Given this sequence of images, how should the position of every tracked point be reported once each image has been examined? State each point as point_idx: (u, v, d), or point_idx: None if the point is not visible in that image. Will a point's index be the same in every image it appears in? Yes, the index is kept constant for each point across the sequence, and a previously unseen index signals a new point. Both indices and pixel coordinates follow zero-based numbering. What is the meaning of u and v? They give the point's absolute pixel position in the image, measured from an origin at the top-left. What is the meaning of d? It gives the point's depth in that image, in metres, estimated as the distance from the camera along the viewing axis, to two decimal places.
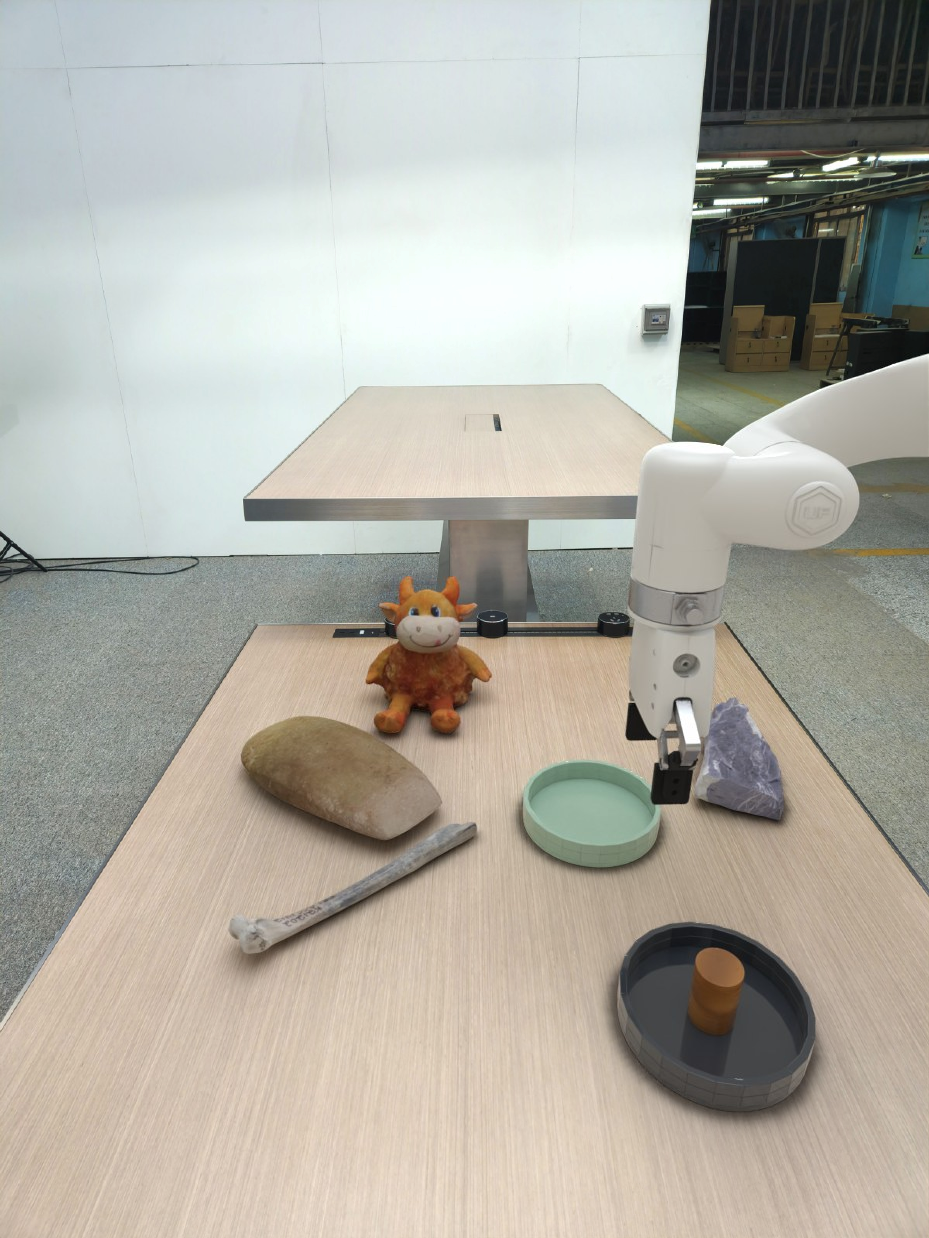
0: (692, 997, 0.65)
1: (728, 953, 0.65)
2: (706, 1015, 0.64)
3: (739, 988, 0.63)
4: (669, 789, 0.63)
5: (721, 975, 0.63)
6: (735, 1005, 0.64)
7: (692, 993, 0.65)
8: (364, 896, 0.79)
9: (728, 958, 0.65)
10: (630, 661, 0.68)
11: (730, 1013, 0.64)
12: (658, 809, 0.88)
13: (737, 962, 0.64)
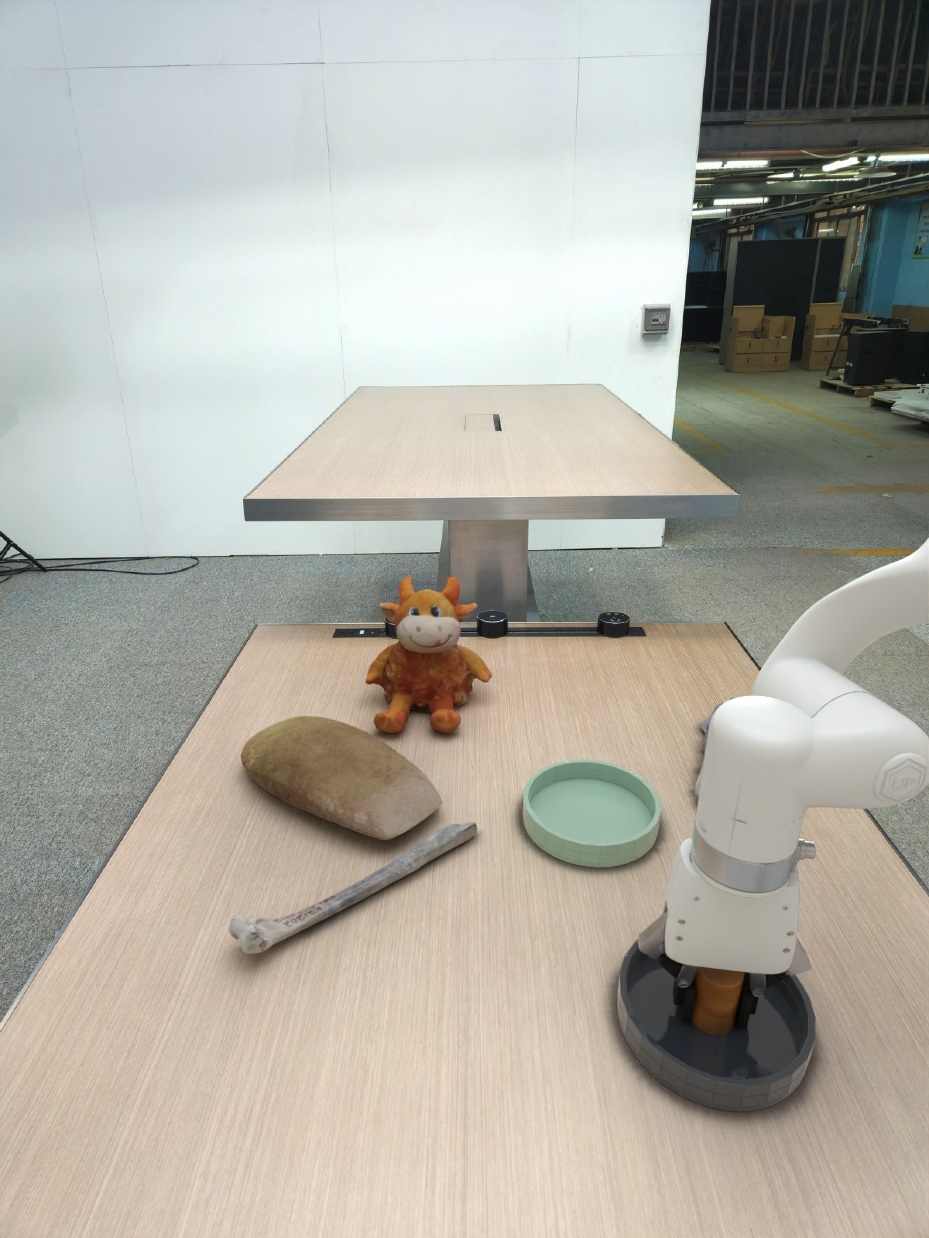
0: None
1: None
2: (706, 1015, 0.64)
3: (739, 988, 0.63)
4: None
5: (721, 975, 0.63)
6: (735, 1005, 0.64)
7: None
8: (364, 896, 0.79)
9: None
10: (686, 939, 0.60)
11: (730, 1013, 0.64)
12: (658, 809, 0.88)
13: None
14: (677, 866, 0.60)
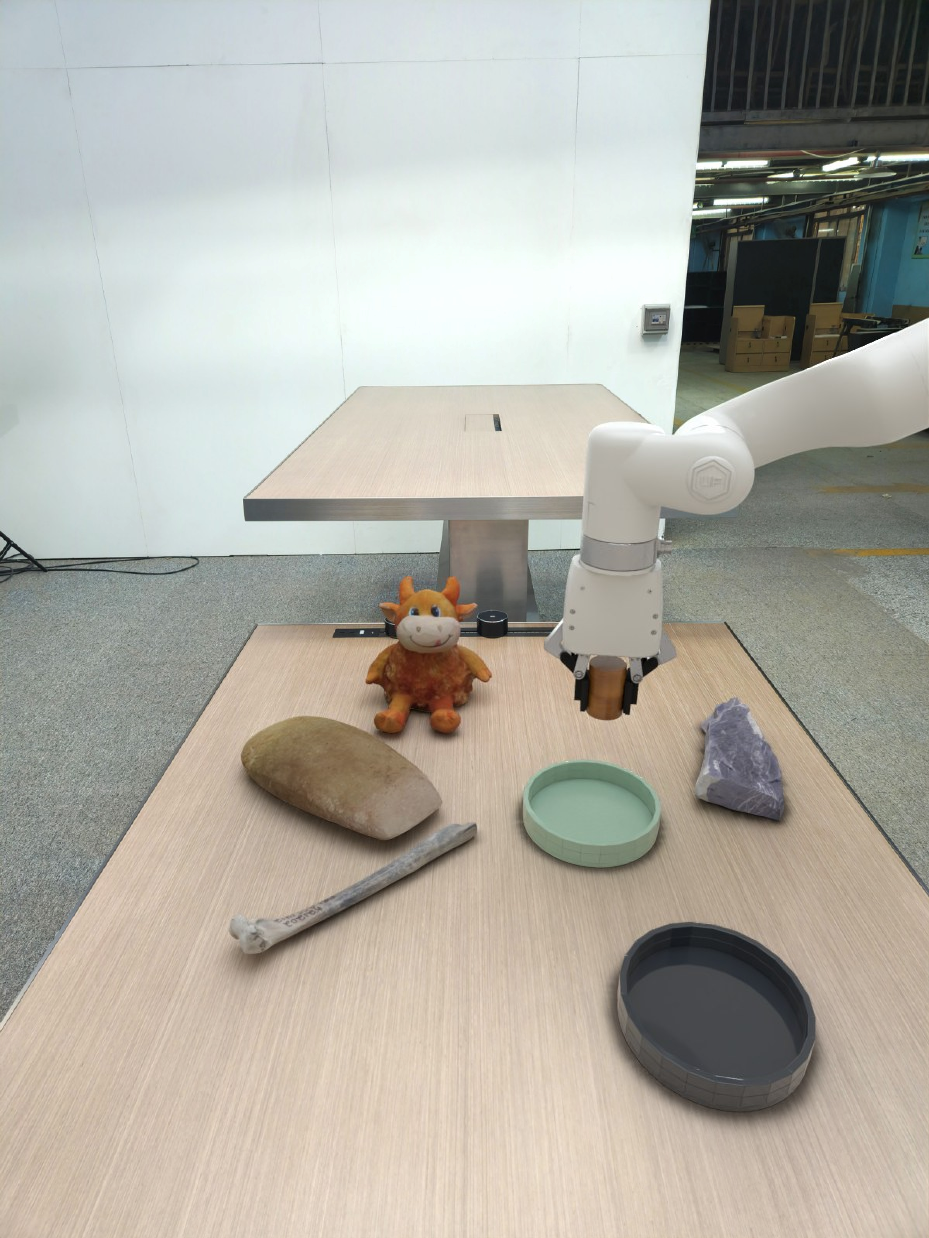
0: (588, 692, 0.82)
1: (616, 657, 0.82)
2: (597, 703, 0.81)
3: (622, 676, 0.79)
4: None
5: (608, 667, 0.80)
6: (620, 693, 0.80)
7: (588, 689, 0.82)
8: (364, 896, 0.79)
9: (616, 659, 0.81)
10: (577, 627, 0.77)
11: (616, 699, 0.80)
12: (658, 809, 0.88)
13: (622, 661, 0.81)
14: (570, 570, 0.77)
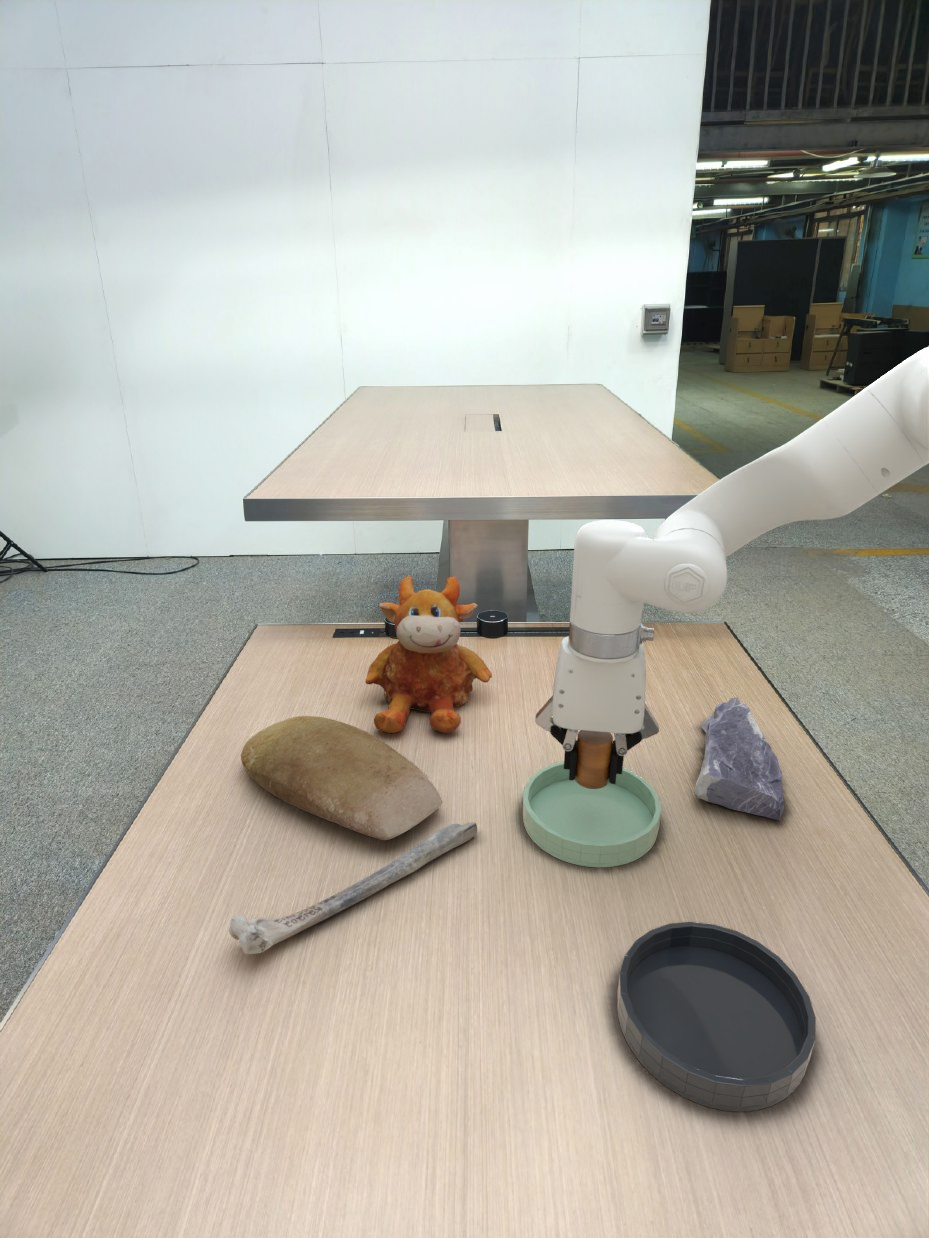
0: (576, 762, 0.87)
1: None
2: (585, 773, 0.86)
3: (608, 749, 0.85)
4: (622, 765, 0.87)
5: (594, 740, 0.85)
6: (606, 764, 0.86)
7: None
8: (364, 896, 0.79)
9: (602, 732, 0.87)
10: (565, 706, 0.83)
11: (602, 769, 0.86)
12: (658, 809, 0.88)
13: (608, 734, 0.87)
14: (559, 653, 0.83)
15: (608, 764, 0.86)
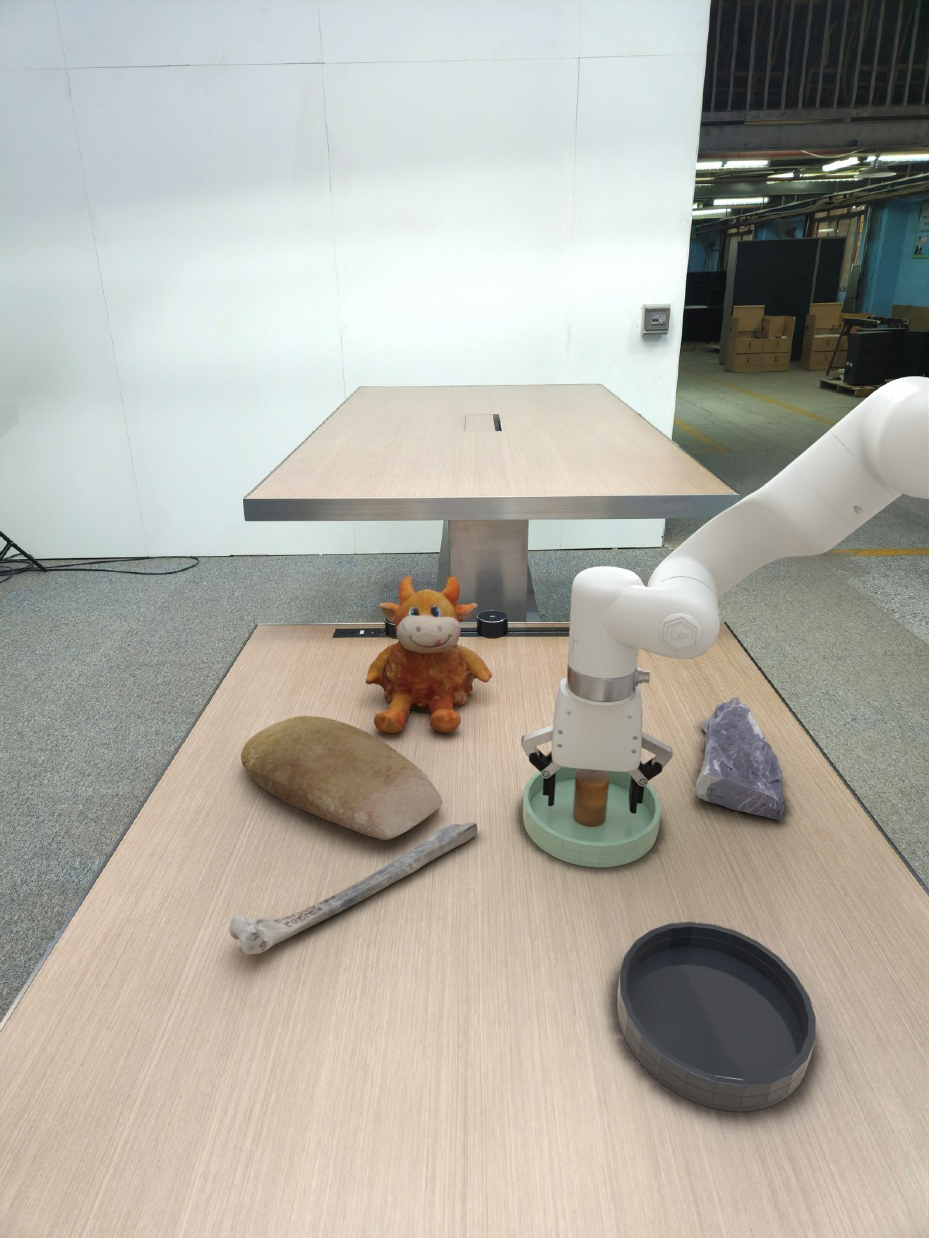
0: (574, 800, 0.90)
1: None
2: (582, 811, 0.89)
3: (605, 789, 0.87)
4: None
5: (592, 780, 0.88)
6: (603, 803, 0.88)
7: (574, 797, 0.90)
8: (364, 896, 0.79)
9: (599, 771, 0.89)
10: (564, 745, 0.85)
11: (599, 808, 0.88)
12: (658, 809, 0.88)
13: (605, 773, 0.89)
14: (558, 694, 0.85)
15: (605, 803, 0.89)
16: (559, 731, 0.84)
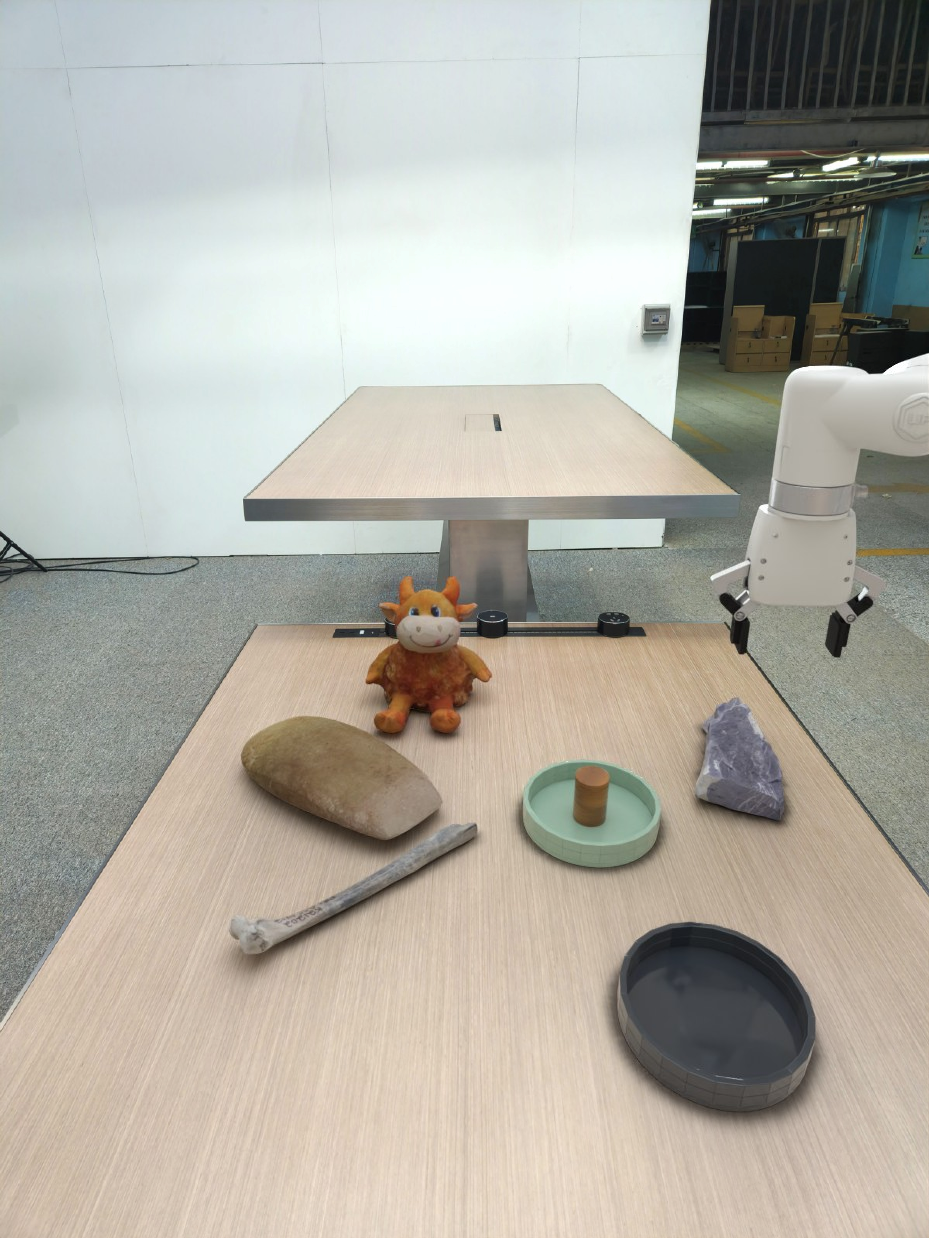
0: (574, 800, 0.90)
1: (600, 768, 0.90)
2: (582, 811, 0.89)
3: (605, 789, 0.87)
4: (847, 636, 0.80)
5: (592, 780, 0.88)
6: (603, 803, 0.88)
7: (574, 797, 0.90)
8: (365, 897, 0.79)
9: (599, 771, 0.89)
10: (767, 577, 0.76)
11: (599, 808, 0.88)
12: (658, 809, 0.88)
13: (605, 773, 0.89)
14: (758, 520, 0.77)
15: (605, 803, 0.89)
16: (762, 560, 0.76)
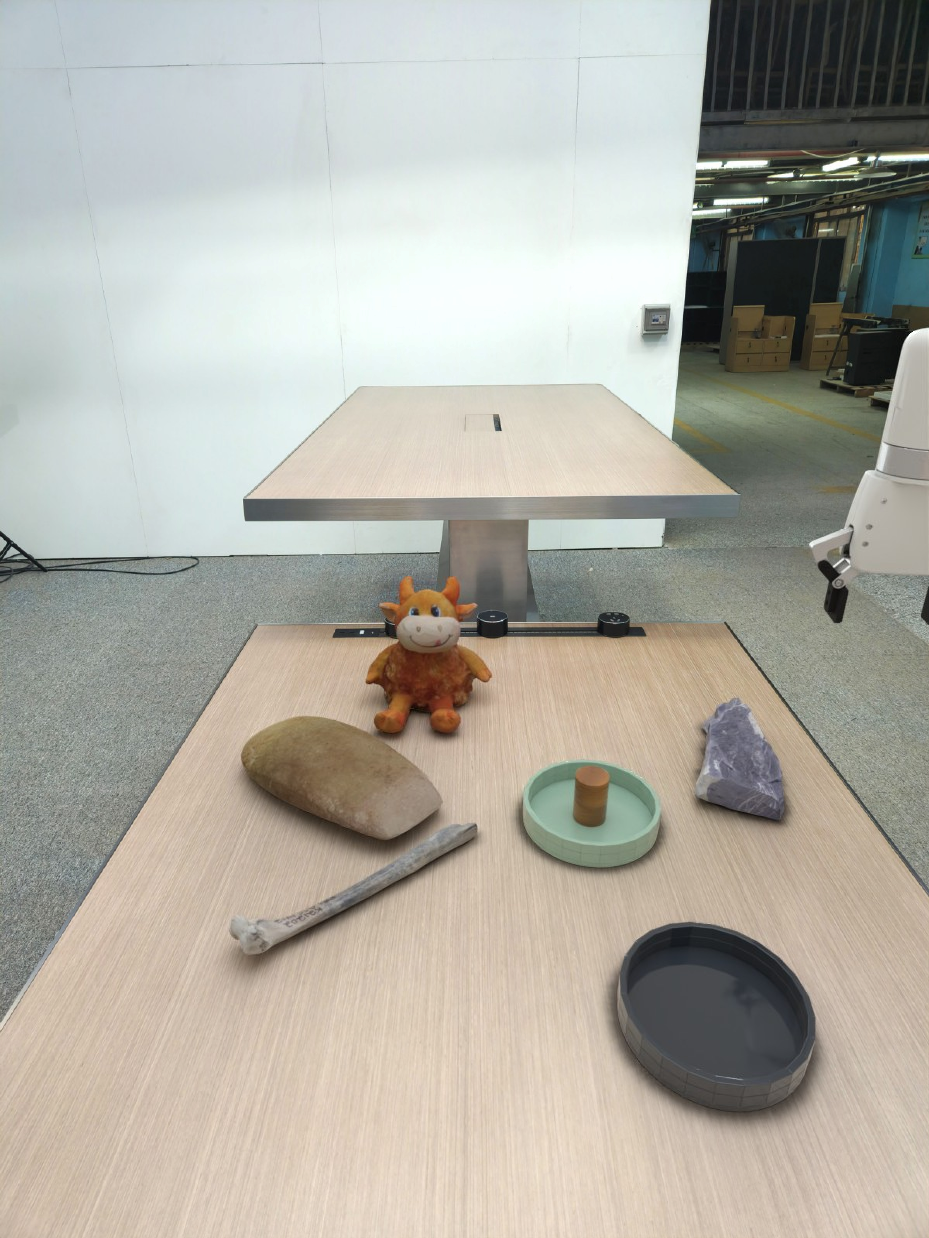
0: (574, 800, 0.90)
1: (600, 768, 0.90)
2: (582, 811, 0.89)
3: (605, 789, 0.87)
4: None
5: (592, 780, 0.88)
6: (603, 803, 0.88)
7: (574, 797, 0.90)
8: (365, 897, 0.79)
9: (599, 771, 0.89)
10: (871, 543, 0.75)
11: (599, 808, 0.88)
12: (658, 809, 0.88)
13: (605, 773, 0.89)
14: (864, 485, 0.75)
15: (605, 803, 0.89)
16: (867, 526, 0.75)
